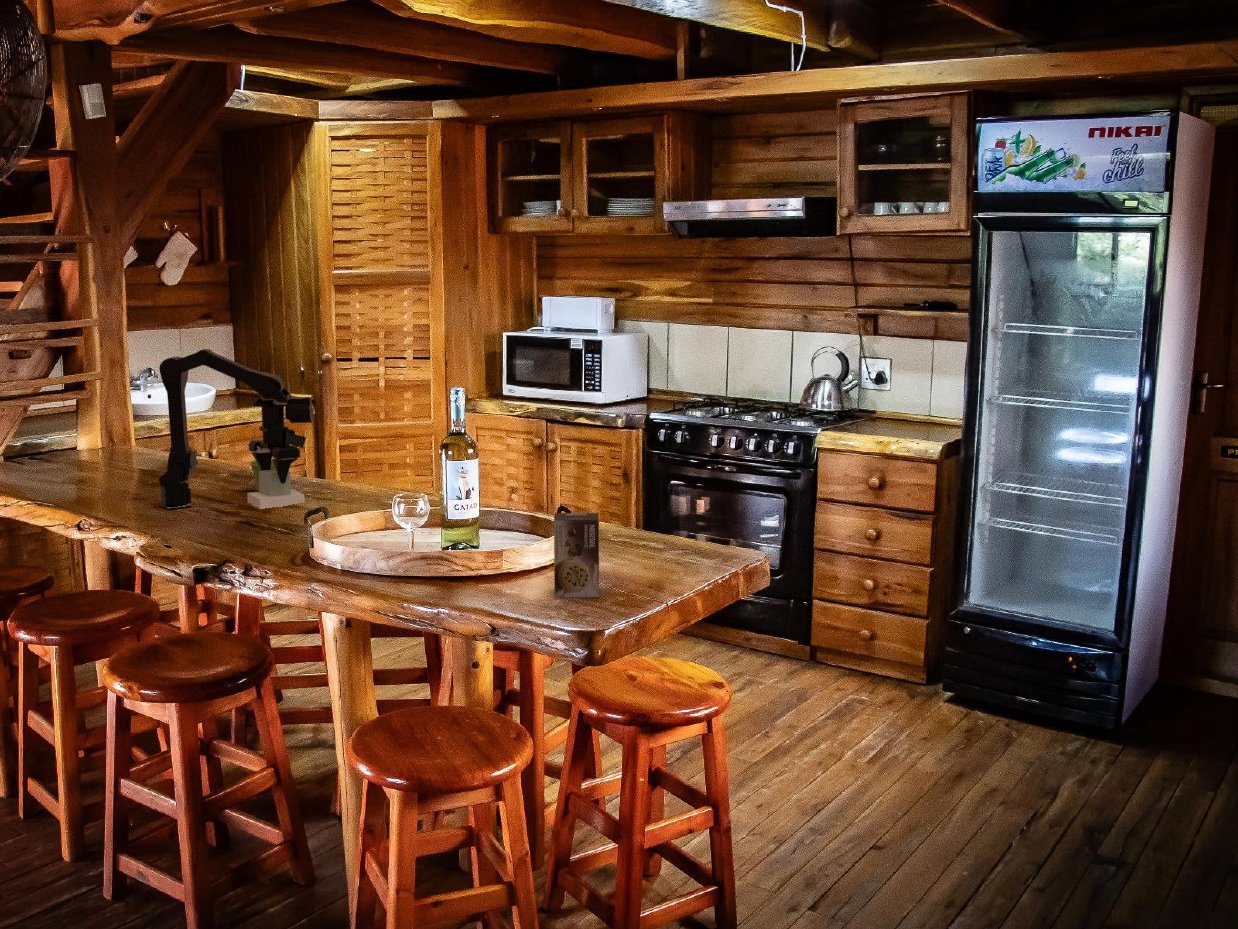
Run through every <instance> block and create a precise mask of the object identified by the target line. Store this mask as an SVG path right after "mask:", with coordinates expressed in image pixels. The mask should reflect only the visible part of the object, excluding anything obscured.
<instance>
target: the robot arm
mask: <svg viewBox="0 0 1238 929" xmlns="http://www.w3.org/2000/svg"><path fill="white" fill-rule="evenodd" d="M201 366H206V367H207V368H210V369H212V370H214V371H216V372H218V373H221V374H223V375H225V376H227V377H230V378H232V379H234V380H237V381H238V382H242V383H244V385H246V386H248V387H250V388H251V389H252V390H253V391H254V392H256V393H257V394H259V395H261V396H260V397H258V399H257V400H256V402H254V403H253V405H252V406H253V407H261V426H259V427H258V428H259V431H260V432H262V433H261V434H262V438H261V439H251V441H250V442H249V443H248V451H249V452H251V453H250V454H251V455H252V456H253V458H254V459H255V460H254V461H257V463H258V465H259V467H260V469H261V471H263V470H271V460H273V462H274V465H275V468H276V471H277V474H278V477H279V480H280V482H281V484H284V483H285V482H286V479H287V475H288V472H289V471H290V468H291V465H292V464H293V463H294V462H296V461H297V460H298V458H301V449H304V447H305V444H306V441H307V436H302V435H299V434H296V431H295V430H293V429H289V427H288V426H286V425H285V419H286V420H287V421H289V423H290V424H313V423H314V416H315V414H314V411H315V410H314V406H313V402H312V397H311V396H305V397H293V396H292V395H291V393H290V392H289V390H288V389H287V388H286V385H285V384H286V383H285V381H284V379H283V378H282V377H281V376H279V375H278V374H274V373H270V372H265V371H261V370H260V371H259V370H255V369H252V368H250V367H247V366H245V365H243V364H240V363H238V362H237V361H234V360H232V359H230V358H227V357H225V356H223V355H220V354H219V353H216V352H214V351H213V350H211V349H208V348H204V349H200V350H198V351H197V352H194V353H192V354H189V355H187V356H183V357H181V356H172V357H168V358H166V359H164V360H163V361H162V362H160V364H159V367H158V368H159V375H160V378H161V382H162V384H163V386H164V389H165V390H166V395H167V396H166V397H167V406H168V407H167V408H168V410H167V411H168V420H169V433H170V448H169V449H170V450H169V454H168V457H167V466H166V471H165V472H164V473H163V474H162V475H161V476H160V477H159V479H158V482H159V485H160V494H161V497H160V498H161V504H162V506H164V507H178V506H183V505H186V504H188V503H191V504H192V493H191V492H192V491H191V488H190V487H189V482H187V481H188V480H189V478H190V476H192V475H193V473H195V471H196V467H197V466H198V465H199V462H198V460H197V455H198V450H197V449H193V450H192V448H191V446H190V444H189V434H188V433H189V431H188V422H187V421H188V419H187V408H186V406H187V405H186V392H185V391H186V388H187V383H188V379H189V378H188V377H189V371H190V370H193V369H196V368H199V367H201ZM265 398H266V399H265Z"/></svg>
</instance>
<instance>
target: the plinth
mask: <svg viewBox="0 0 1238 929" xmlns="http://www.w3.org/2000/svg"><path fill="white" fill-rule="evenodd" d="M246 495H247V504H248V503H251V504H252V505H253V506H255V507H258V508H259V509H265V508H272V507H283V506H288V505H292V504H298V503H305V501H306V500H305V494H304V493H301V492H300V491H298V490H295V489H294V488H291V494H285V495H278V496H267V495H264V494H261V493H260V492H257V491H254V492H253V491H252V492H247V493H246Z"/></svg>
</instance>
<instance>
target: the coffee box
mask: <svg viewBox="0 0 1238 929" xmlns="http://www.w3.org/2000/svg"><path fill="white" fill-rule="evenodd" d="M553 551H554V552H553V554H554V555H553V556H554V558H553V559H554V560H553V562H554V563H553V564H554V565H553V566H554V568H553V570H554V571H553V572H554V573H553V577H554V579H553V580H554V583H553V591H554V593H553V594H554V596H553V597H554V598H557V599H558V598H559V599H561V598H563V599H564V598H565V599H566V598H569V599H570V598H600V516H599V512H555V513H554V517H553Z"/></svg>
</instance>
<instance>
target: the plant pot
mask: <svg viewBox="0 0 1238 929" xmlns="http://www.w3.org/2000/svg"><path fill="white" fill-rule="evenodd" d="M249 465H250V466H251V470H252V472H253V478H254V483H255V484H254V485H255V490H256V489H257V490H259V471H261V469H260V467H259V465H258V463H257V461H256V460H252V461H250V462H249ZM272 469H276V468H275V465H274V462H273V459H271V470H272Z"/></svg>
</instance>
